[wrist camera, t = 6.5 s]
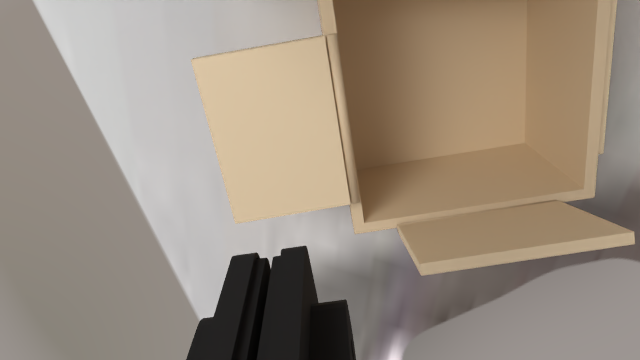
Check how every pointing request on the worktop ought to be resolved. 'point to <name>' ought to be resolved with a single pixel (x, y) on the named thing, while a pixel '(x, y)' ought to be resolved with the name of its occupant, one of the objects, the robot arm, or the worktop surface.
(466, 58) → the carton
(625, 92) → the worktop surface
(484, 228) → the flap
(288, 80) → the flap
